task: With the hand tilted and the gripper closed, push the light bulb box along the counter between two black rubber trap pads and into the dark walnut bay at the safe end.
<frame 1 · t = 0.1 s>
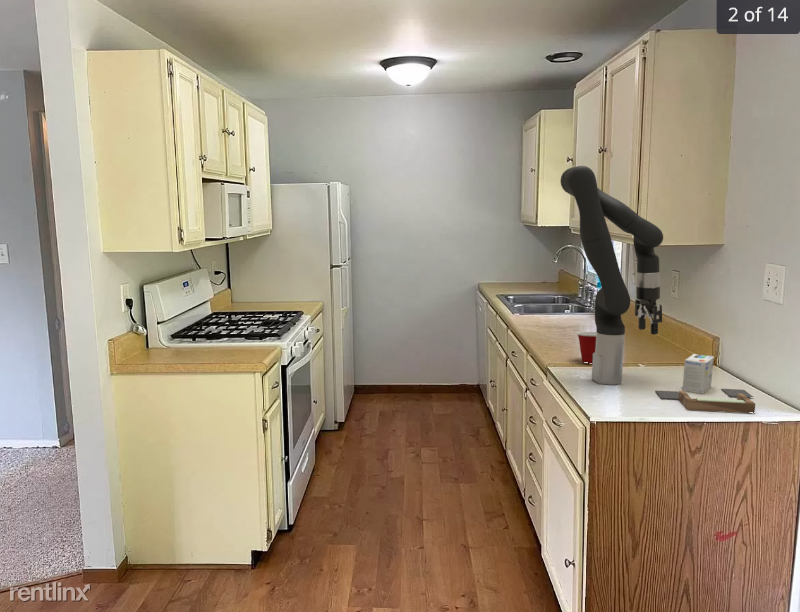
hand: (648, 331, 211), 17 cm above the worktop, tool pointing down, fingers open, 8 cm apart
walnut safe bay: (715, 401, 186), on the worktop
trap pads: (703, 395, 197), on the worktop
light bulb box: (696, 389, 204), on the worktop
plastic cup: (589, 363, 239), on the worktop
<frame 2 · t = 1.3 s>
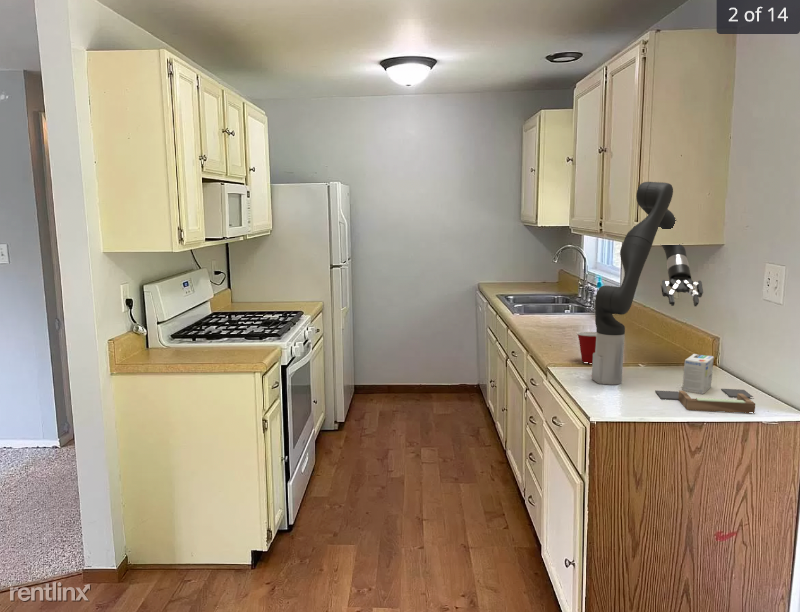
hand: (684, 304, 222), 25 cm above the worktop, tool tilted 45°, fingers open, 7 cm apart
nothing on the worktop moved.
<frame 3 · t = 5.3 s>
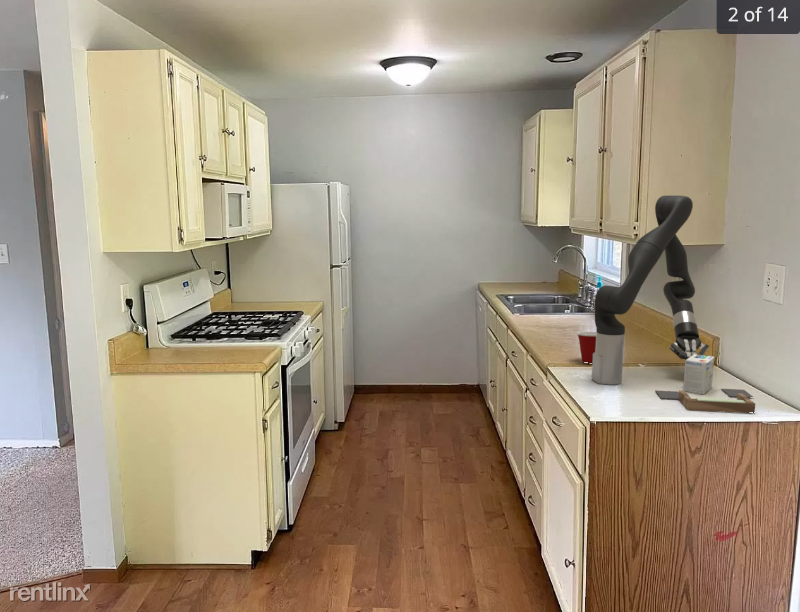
hand: (692, 368, 209), 5 cm above the worktop, tool tilted 45°, fingers closed
light bulb box: (697, 389, 204), on the worktop, touching gripper
everything else where it was.
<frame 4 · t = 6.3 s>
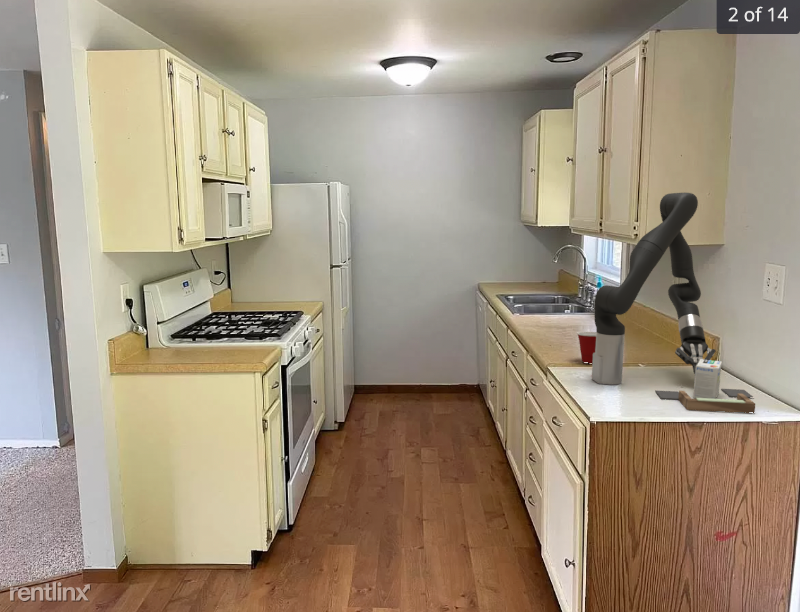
hand: (699, 374, 202), 5 cm above the worktop, tool tilted 45°, fingers closed
light bulb box: (706, 396, 197), on the worktop, touching gripper
everything else where it was.
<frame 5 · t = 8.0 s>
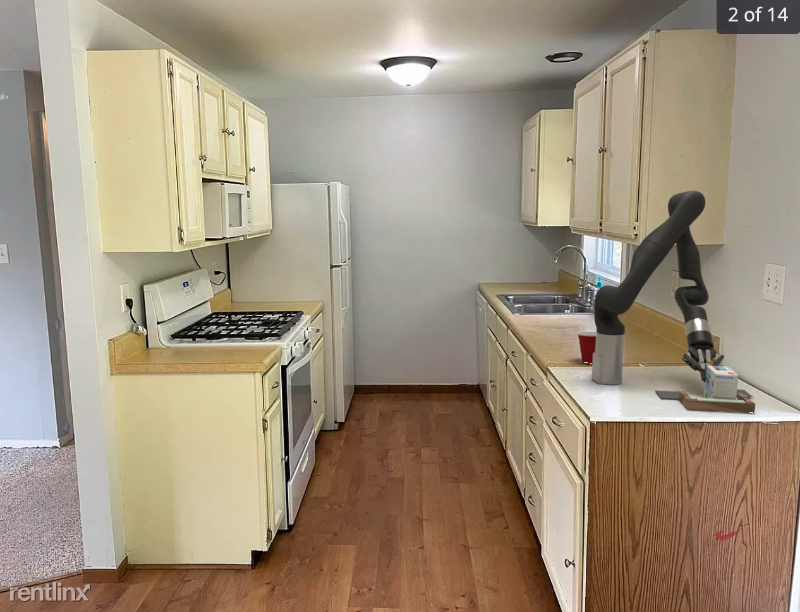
hand: (707, 381, 194), 5 cm above the worktop, tool tilted 45°, fingers closed
light bulb box: (719, 404, 189), on the worktop, touching gripper
everything else where it was.
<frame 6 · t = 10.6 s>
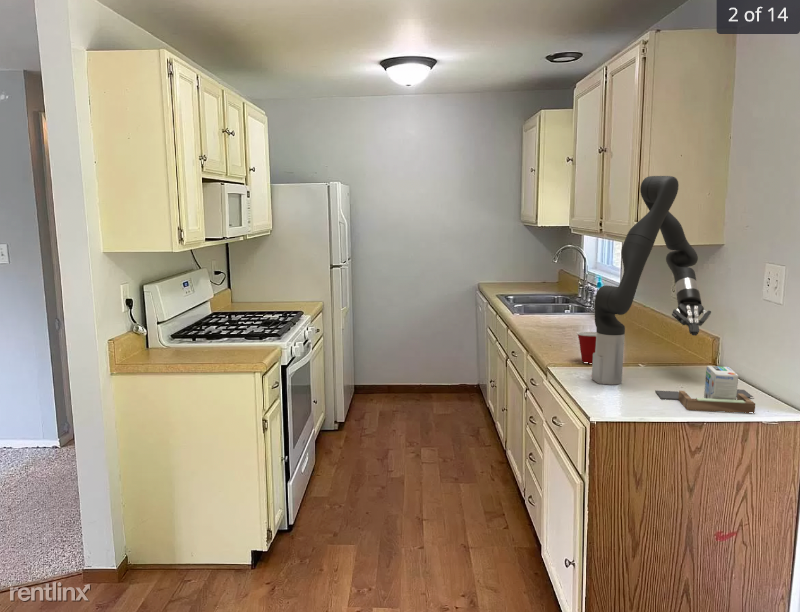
hand: (694, 334, 208), 17 cm above the worktop, tool tilted 45°, fingers closed
light bulb box: (719, 404, 189), on the worktop
everything else where it was.
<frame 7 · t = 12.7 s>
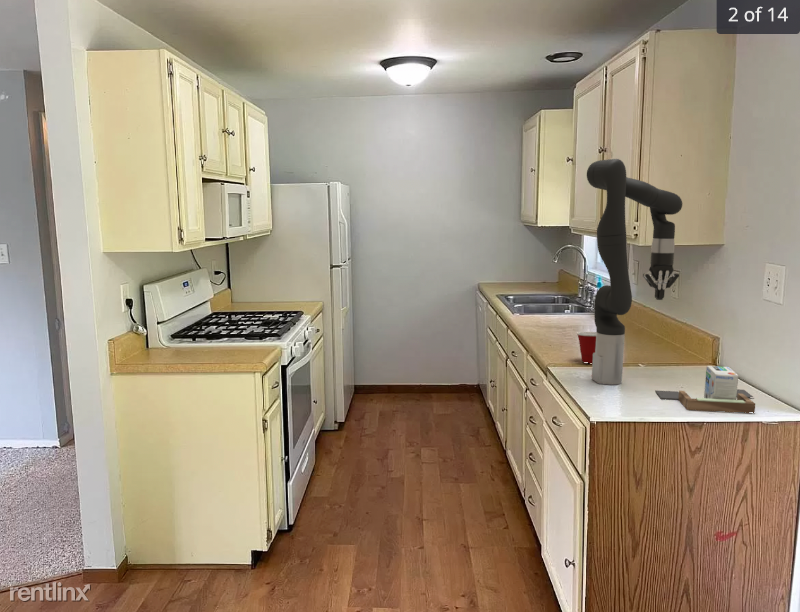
hand: (659, 299, 220), 27 cm above the worktop, tool pointing down, fingers closed
nothing on the worktop moved.
at the end: light bulb box inside the target area (1.9 cm from its centre), on the worktop; light bulb box touching worktop; light bulb box tilted 0° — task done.
